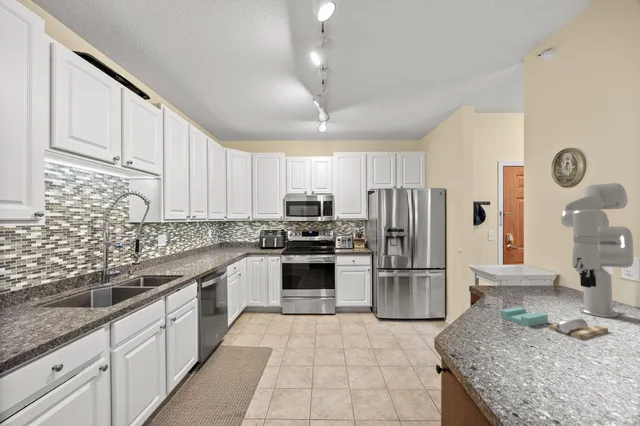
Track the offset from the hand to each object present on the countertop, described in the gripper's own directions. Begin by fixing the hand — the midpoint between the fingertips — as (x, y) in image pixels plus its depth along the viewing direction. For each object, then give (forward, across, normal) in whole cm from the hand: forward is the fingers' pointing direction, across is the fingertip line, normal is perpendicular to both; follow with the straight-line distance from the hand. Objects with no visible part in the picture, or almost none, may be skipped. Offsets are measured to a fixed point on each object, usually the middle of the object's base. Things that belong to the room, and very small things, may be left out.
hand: (588, 286), depth 113 cm
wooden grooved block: (+17, +8, 0) cm, 19 cm away
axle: (+16, +11, 0) cm, 20 cm away
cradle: (+17, +15, -16) cm, 28 cm away
